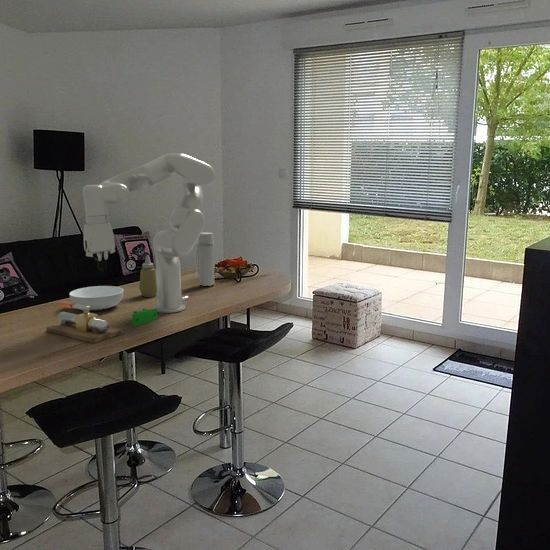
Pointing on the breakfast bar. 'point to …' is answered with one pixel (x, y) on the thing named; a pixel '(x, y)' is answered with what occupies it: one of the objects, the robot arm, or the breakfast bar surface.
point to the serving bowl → (97, 296)
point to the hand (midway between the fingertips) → (102, 270)
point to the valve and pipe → (84, 322)
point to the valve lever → (75, 306)
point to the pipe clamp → (144, 316)
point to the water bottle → (205, 259)
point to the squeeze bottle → (148, 279)
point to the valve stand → (82, 335)
